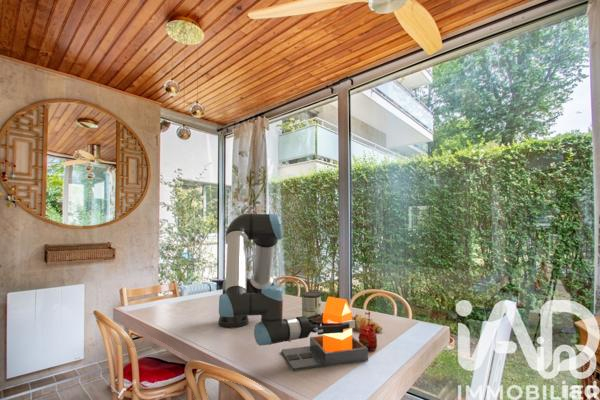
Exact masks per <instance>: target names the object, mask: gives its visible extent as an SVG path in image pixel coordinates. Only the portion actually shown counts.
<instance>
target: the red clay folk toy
mask: <svg viewBox="0 0 600 400" xmlns="http://www.w3.org/2000/svg"><path fill="white" fill-rule="evenodd" d="M364 314H365V316H366V315H368V318H367V319H368V320H369V321H370V319H371V318H370V317H371V310H368V312H367V311H366V312H365V311H364ZM377 336H378V335H377V334H376V332H375V331H374V329H373V327H371V326H370V322H368V325H367V326H365V325H363V326H362V329H361V331H359V334H358V339H359V340H358V341H359V342H360V343H362V344H363V345H364V346H366V347H367V348H368V352H374V350H376V349H377V346H378V338H377Z"/></svg>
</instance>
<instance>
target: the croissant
mask: <svg viewBox="0 0 600 400" xmlns="http://www.w3.org/2000/svg"><path fill="white" fill-rule="evenodd" d="M368 319H369V318H367V317H366V316H364V315H363V314H357V313H356V315H354V316H352V320H355V328H352V331H357V332H360V331H361V329H362V326H363V325H365V326H367V325H368V322H370V326H371V327H373V329H374V331H375V333H379V332H383V327H382V326H381V325H380V324H379V323H377V322H375V321H374V320H373V319H372V318H370V321H369V320H368Z"/></svg>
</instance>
